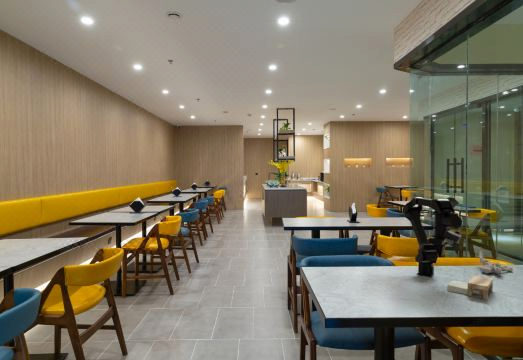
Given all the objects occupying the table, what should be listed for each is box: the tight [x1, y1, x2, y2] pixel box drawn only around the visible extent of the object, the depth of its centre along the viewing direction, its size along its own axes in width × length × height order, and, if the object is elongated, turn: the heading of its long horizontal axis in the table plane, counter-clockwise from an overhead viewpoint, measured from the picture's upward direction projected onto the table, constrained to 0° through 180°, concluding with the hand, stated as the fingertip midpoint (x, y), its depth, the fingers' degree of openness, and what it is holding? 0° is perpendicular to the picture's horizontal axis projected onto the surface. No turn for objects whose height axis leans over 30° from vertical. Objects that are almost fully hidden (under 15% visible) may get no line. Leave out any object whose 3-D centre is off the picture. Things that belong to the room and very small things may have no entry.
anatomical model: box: [478, 251, 513, 274], centre depth 180 cm, size 19×8×20 cm
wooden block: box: [466, 275, 494, 301], centre depth 142 cm, size 7×15×6 cm, turn 138°
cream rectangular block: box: [447, 280, 483, 295], centre depth 145 cm, size 13×10×2 cm
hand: (440, 256), depth 159 cm, fingers closed
